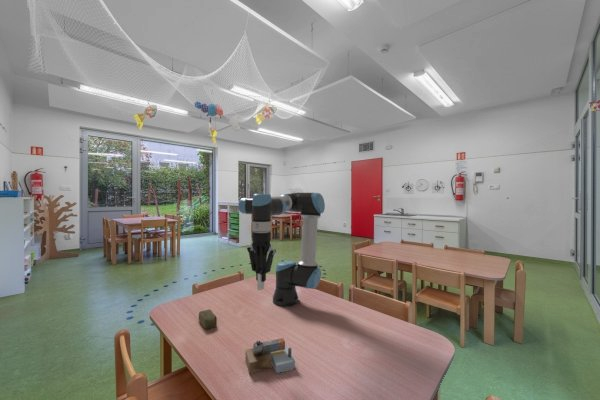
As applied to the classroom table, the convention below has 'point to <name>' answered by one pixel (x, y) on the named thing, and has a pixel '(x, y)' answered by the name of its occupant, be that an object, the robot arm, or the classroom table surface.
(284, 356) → the grey block with peg
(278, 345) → the latch bar
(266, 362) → the block
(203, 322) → the stone block
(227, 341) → the classroom table surface
